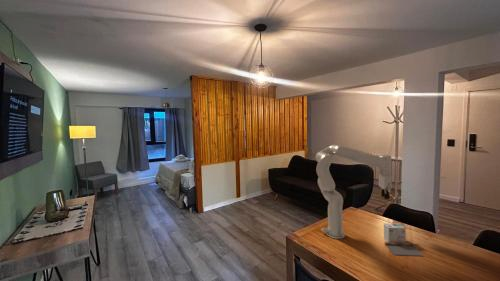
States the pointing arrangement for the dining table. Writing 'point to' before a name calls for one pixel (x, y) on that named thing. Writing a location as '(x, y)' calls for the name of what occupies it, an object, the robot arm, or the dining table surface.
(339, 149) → the robot arm
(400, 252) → the mat
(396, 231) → the light bulb box
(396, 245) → the rail
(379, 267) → the dining table surface
